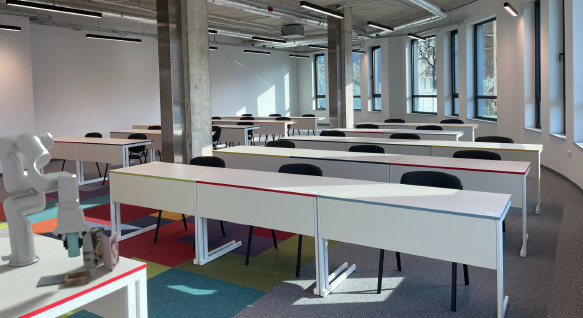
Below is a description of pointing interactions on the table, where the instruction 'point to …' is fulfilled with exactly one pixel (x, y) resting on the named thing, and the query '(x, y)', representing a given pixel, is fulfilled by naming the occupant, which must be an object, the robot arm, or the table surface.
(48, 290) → the table surface
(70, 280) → the pocket
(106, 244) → the greeting card
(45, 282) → the mat
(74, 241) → the peg
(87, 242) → the coffee box
